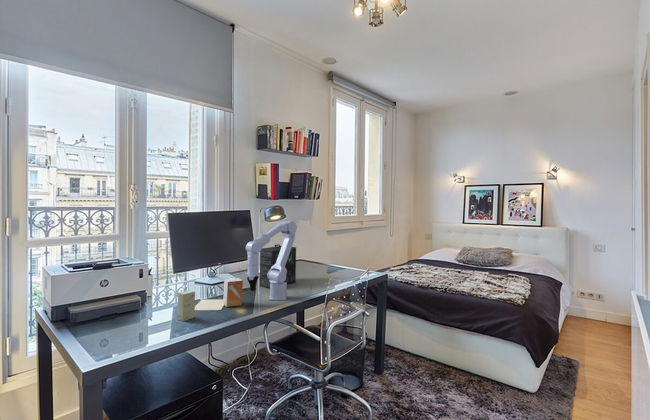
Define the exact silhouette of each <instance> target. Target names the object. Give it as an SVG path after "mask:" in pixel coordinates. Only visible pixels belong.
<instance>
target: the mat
mask: <svg viewBox="0 0 650 420" xmlns="http://www.w3.org/2000/svg"><path fill="white" fill-rule="evenodd" d="M224 306H225V305H224V304H223V298H222V299H220V298H219V299H216V298H215V299H201V300H200V301H199V302H198V303H197V304H195V312H197V311H198V312H199V311H200V312H201V311H203V312H204V311H207V312H208V311H210V312H211V311H221V310H223V308H224Z"/></svg>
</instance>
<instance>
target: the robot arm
mask: <svg viewBox="0 0 650 420" xmlns="http://www.w3.org/2000/svg"><path fill="white" fill-rule="evenodd" d="M297 229H298V226H297V223H296V221H294V220H285V219H284V220H283V219H280V220H279V221H277V223H276V224H275V226H273V227H272V228H271V229H270V230H269V231H267V232H266V233H265V232H263V233H262V232H261V233H260V234H259V235H258V236H257V237H256V238H254V239H253V240H252V241H249V242H247V244H246V245H245V247H244V248H245V251H246V254H247V272H245V273H244V275H245V276H247V278H246V280H247V281H248V285H249V287H250V291H251V292H255V291H256V289H257V283H258V280H259V279H260V251H261V249H262V248H264V247H265V246H266V245H267V244H268V243H270V241H271V238H273V237H275V236H276V235H277V234H279V233H281V234H282V235H283V237H284V240H283V242H282V245H281V246H282V247H281V250H280V253H279V256H278V258H277V261H276V264H275V265H273V266H272V267H271V269H270V270H269V272H268V274H267V277H268V279H269V282H270V288H269V296H268V300H269V301H286V300H287V297H288V292H287V291H288V290H287V289H288V285H287V282H284V281H285V279H286V273H287V270H286V268H285V265H286V262H287V259H288V256H289V253H290V251H291V248H292V247H293V245H294V242H295V238H296V232H297ZM278 270H279V271H278Z"/></svg>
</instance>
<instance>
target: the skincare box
mask: <svg viewBox="0 0 650 420" xmlns="http://www.w3.org/2000/svg"><path fill="white" fill-rule="evenodd" d="M195 306H196V291H193V290H185V291H181V292H177V320H179V321H182V322H184V321H188V320H190V319H191V320H192V319H194V318H196V314H195V313H196V311H195Z"/></svg>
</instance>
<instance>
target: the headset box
mask: <svg viewBox="0 0 650 420" xmlns="http://www.w3.org/2000/svg"><path fill="white" fill-rule="evenodd" d="M281 247H282V245H281V244H274V246H271V247H262V249H261V251H260V252H259V287H262V288H266V289H270V282H269V279H268V277H267V274H268V272H269V270H270V269H271V267H272V266H273V265H275V264H276V261H277V258H278V256H279V253H280V250H281ZM285 268H286V270H287V273H286V279H285V281H284V282H287V286H288V285H290V284H292V285H293V284H296V283H297V282H296V275H297V273H296V271H297V247H296V246H292V248H291V251H290V253H289V256H288V259H287V262H286V265H285ZM278 271H279V270H278Z"/></svg>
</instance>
